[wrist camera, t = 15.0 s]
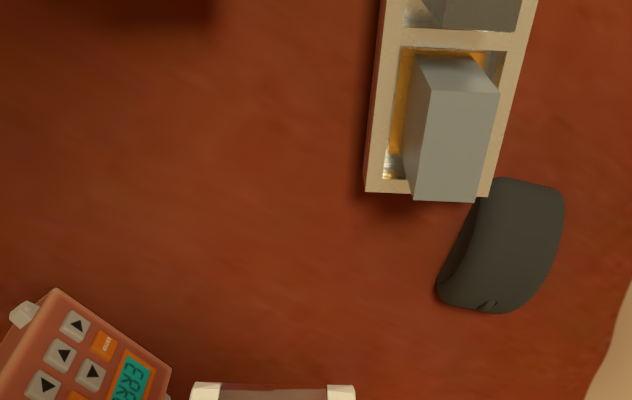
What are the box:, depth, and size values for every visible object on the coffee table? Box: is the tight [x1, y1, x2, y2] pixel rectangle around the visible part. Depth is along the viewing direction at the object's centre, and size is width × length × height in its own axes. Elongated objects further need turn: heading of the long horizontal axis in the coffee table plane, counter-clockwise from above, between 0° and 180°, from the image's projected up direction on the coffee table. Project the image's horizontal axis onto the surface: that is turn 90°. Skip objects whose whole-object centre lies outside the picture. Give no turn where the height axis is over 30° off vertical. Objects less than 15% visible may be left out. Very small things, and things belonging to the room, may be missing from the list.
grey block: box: [399, 54, 501, 203], centre depth 32 cm, size 6×4×6 cm, turn 177°
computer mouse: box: [436, 177, 565, 314], centre depth 39 cm, size 6×11×4 cm, turn 166°
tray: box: [362, 0, 538, 197], centre depth 29 cm, size 20×8×7 cm, turn 177°
